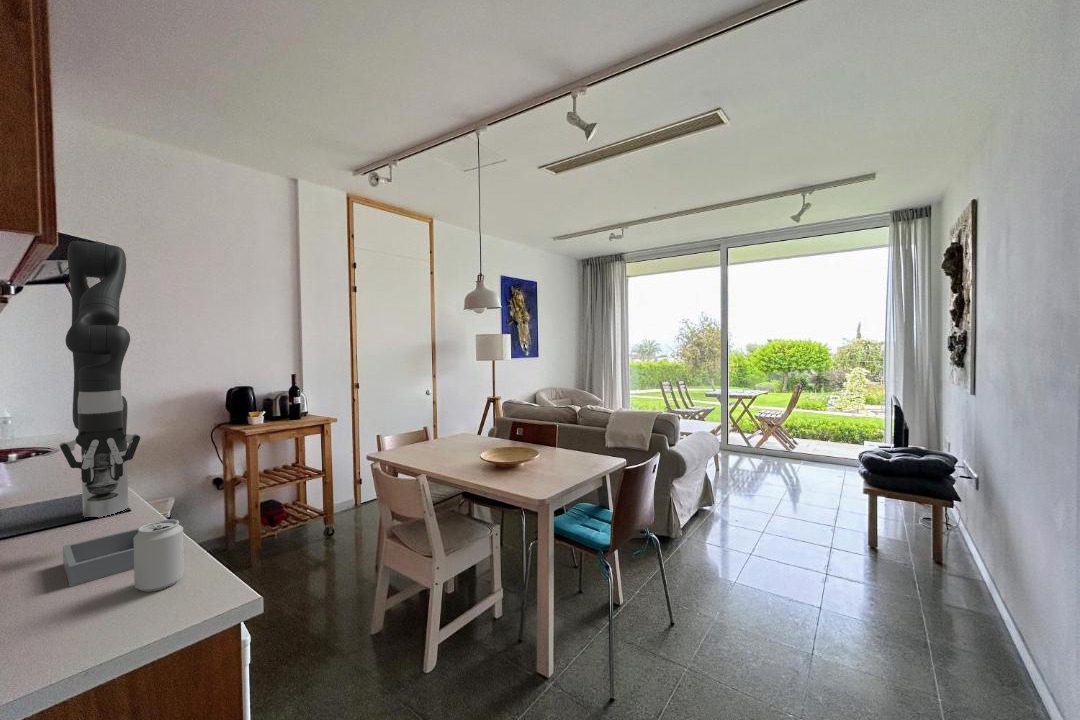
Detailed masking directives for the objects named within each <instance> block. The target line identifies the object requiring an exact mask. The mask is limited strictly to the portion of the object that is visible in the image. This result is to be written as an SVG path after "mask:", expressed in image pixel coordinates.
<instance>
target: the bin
mask: <svg viewBox="0 0 1080 720" xmlns="http://www.w3.org/2000/svg"><path fill="white" fill-rule="evenodd" d="M139 528H140V527H138V528H134V529H130V530H125V531H120V532H117V533H112V534H109V535H104V536H100V537H99V536H98V537H96V538H90V539H87V540H82V541H79V542H78V541H77V542H75V543H70V544H67V545H66V544H65V545H62V565H63V569H64V572H65V575H66V579H67V581H68V584H69V585H68V586H69V587H74V586H77V585H82V584H83V583H84V584H85V583H88V582H91V581H96V580H97V579H101V578H105V577H109V576H112V575H115V574H119V573H122V572H126V571H129V569H130V570H134V548H133V547H134V539H133V538H134V537H135V535H136V534H137V533H138V529H139Z"/></svg>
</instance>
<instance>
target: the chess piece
mask: <svg viewBox="0 0 1080 720" xmlns="http://www.w3.org/2000/svg"><path fill="white" fill-rule="evenodd" d="M112 466H113V465H111V461H110V453H109V452H101V453H98V454H94V467H92V469H93V470H94V477H93V480H92V482H91V484H89V485H85V487H87V490H88V492H89V493H91V494H93V495H94V496H91V497H90V498H88V499H87V501H91V502H94V501H103V500H108V499H112V498H115V497H117V496H118V495H119V494H117V493H114V492H112V491H114V490H115V489H116V488H117V486H118V482H119V481H120V480H119V479H118V480H115V479H114V478H113V477H112V474H111V467H112Z"/></svg>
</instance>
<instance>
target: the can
mask: <svg viewBox="0 0 1080 720" xmlns="http://www.w3.org/2000/svg"><path fill="white" fill-rule="evenodd" d="M179 523H180V521H179V520H178V519H161V520H156V521H153V522H150V523H146V524H144V525H141V526H140V527H138V528H139V529H138V533H137V534H136V535H135V537H134V538H133V539H134V568H133V579H134V581H133V582H134V588H135V589H137V590H139V591H142V592H144V593H145V592H146V593H147V592H156V591H160V590H164V589H166V587H167V588H169V587H171V586H173V585H175V584H176V583H178V581H179V580H180V579H181V578H182V577H183V576H184V574H185V560H184V559H185V555H184V553H185V551H184V549H185V548H184V527H183V526H182V525H181V524H179ZM174 583H175V584H174ZM172 584H173V585H172ZM168 586H169V587H168ZM163 588H164V589H163Z"/></svg>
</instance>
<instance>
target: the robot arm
mask: <svg viewBox="0 0 1080 720" xmlns="http://www.w3.org/2000/svg"><path fill="white" fill-rule="evenodd" d="M67 266H68V274H69V275H68V276H69V286H70V294H71V296H70V297H71V326H70V327H69V329H68V330H67V333H66V336H65V345H66V347H67V349H68V350H69V351H70V352H71V353H72V357H73V358H72V360H73V390H72V391H73V395H72V421H73V426H74V428H75V429H76V430H78V433H77V436H76V437H75V439H73V440H70V441H67V442H61V443H60V444H59V445H58V446H59V448H60V450H61V452H62V454H63V456H64V457H65V459H66V461H67V463H68V465H69V467H70V468H71V469H80V474H81V476H80V477H81V478H80V480H81V485H82V486H81V487H82V488H81V489H82V490H81V491H82V517H83V516H84V517H83V518H85V517H98V518H104V517H103V516H105V517H108V516H107V515H110V516H112V515H111V514H114V515H116V514H115V513H117V512H120V511H123V510H125V509H127V508H128V509H129V472H128V470H129V469H128V467H129V466H128V461H131V460H133V459H134V456H135V453H136V451H137V448H138V445H139V444H140V441H141V436H140V435H139V434H128V433H127V426H128V425H127V424H128V409H129V408H128V402H127V399H126V397H125V396H124V395H122V381H121V379H122V367H123V362H124V359H125V356H126V354H127V351H128V349H129V346H130V343H131V336H130V332H129V331H128V330H127V329H126V328H125V327H124V326H121V325H119V323H120V301H121V295H122V291H123V287H124V284H125V278H126V273H127V258H126V253H125V251H124V249H123V248H122V247H120V246H118V245H112V244H105V243H98V242H90V241H83V240H82V241H81V240H73V241H71V242H70V243H69V244H68V247H67ZM87 278H94V279H96V278H98V279H102V280H100V281H98V282H97V283H95V284H94V285H92V286H91V287H90V286H89V284H88V281H87ZM76 445H78V446H79V447H80V452H81V456H80V457H81V461H77V460H76V459H75V456H74V454H73V452H72V451H75V446H76ZM101 452H109V453H110V461H111V465H113V466H112V467H111V474H112V477H113V478H114V479H115V480H118V479H119V480H120V481H119V482H118V486H117V488H116V489H115V490H114V491H112V492H114V493H117V494H119V495H118V496H117V497H115V498H112V499H108V500H103V501H94V502H91V501H87V499H88V498H90V497H91V496H94V495H93V494H91V493H89V492H88V490H87V487H85V485H89V484H91V482H92V480H93V477H94V470H93V469H92V467H94V454H98V453H101ZM128 509H127V510H128ZM125 511H126V510H125ZM123 512H124V511H123Z"/></svg>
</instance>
